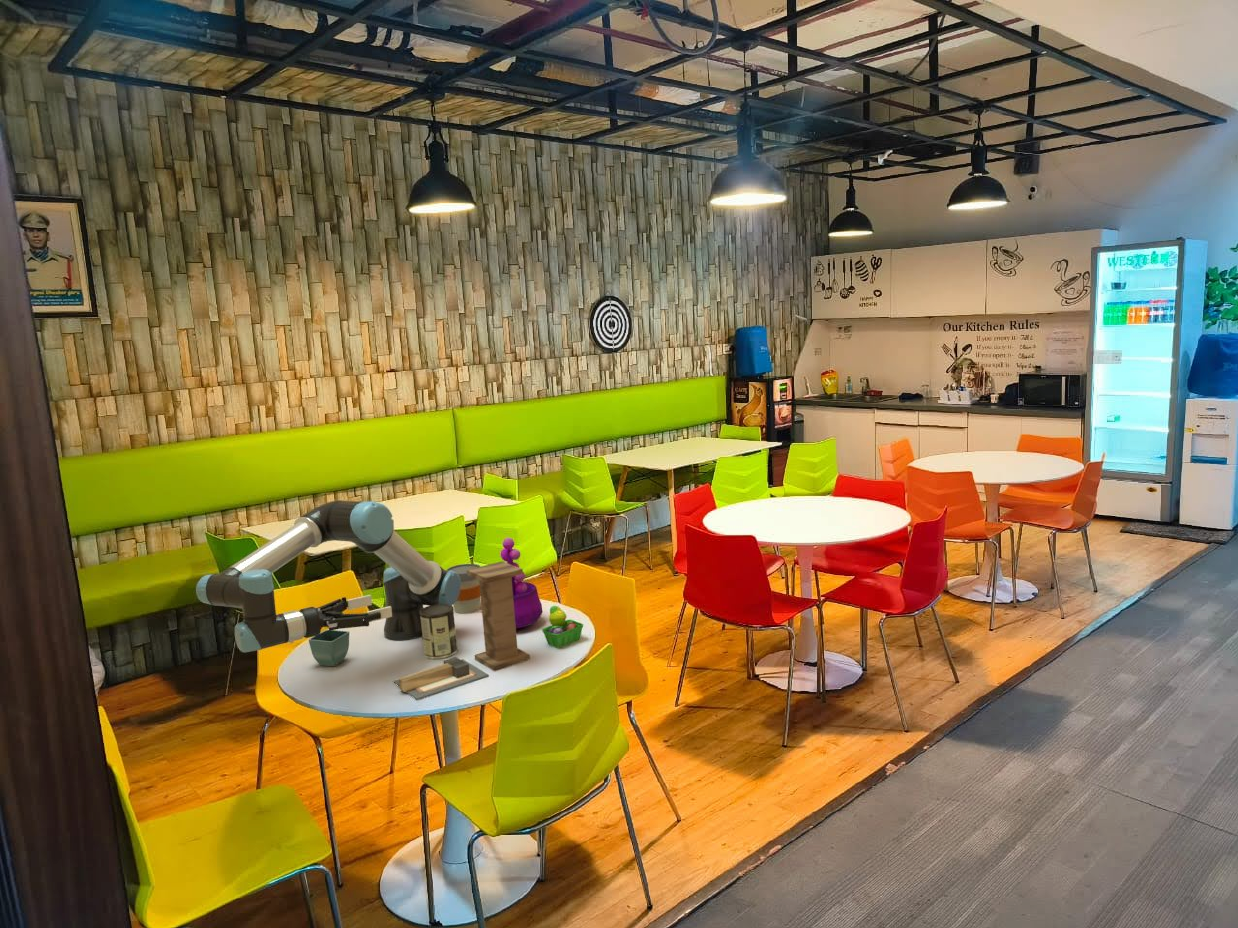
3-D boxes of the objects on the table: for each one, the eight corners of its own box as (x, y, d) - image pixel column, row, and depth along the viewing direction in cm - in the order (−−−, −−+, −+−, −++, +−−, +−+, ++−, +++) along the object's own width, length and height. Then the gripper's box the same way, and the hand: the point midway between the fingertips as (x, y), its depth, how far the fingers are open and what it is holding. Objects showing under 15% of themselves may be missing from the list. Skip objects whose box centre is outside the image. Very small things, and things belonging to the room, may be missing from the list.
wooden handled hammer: (395, 685, 237) (394, 675, 236) (456, 666, 248) (455, 656, 248) (407, 694, 231) (406, 684, 230) (469, 674, 242) (468, 664, 242)
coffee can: (444, 643, 269) (440, 601, 267) (464, 650, 262) (460, 607, 260) (417, 654, 262) (412, 610, 259) (436, 661, 254) (432, 617, 252)
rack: (475, 659, 254) (466, 570, 250) (509, 648, 261) (502, 561, 257) (494, 671, 245) (486, 578, 240) (529, 659, 252) (522, 568, 247)
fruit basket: (556, 650, 258) (554, 615, 256) (539, 643, 264) (536, 609, 262) (585, 639, 265) (583, 605, 263) (568, 633, 272) (565, 599, 270)
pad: (393, 682, 241) (393, 680, 241) (462, 660, 254) (462, 658, 254) (416, 700, 229) (416, 697, 228) (488, 676, 242) (488, 673, 241)
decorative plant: (477, 625, 284) (469, 538, 279) (525, 611, 295) (518, 527, 290) (504, 639, 269) (496, 548, 264) (553, 624, 280) (547, 537, 275)
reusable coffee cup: (466, 617, 292) (462, 576, 290) (441, 611, 300) (438, 571, 297) (492, 606, 302) (489, 566, 299) (467, 601, 309) (464, 561, 307)
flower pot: (353, 658, 261) (350, 630, 260) (335, 670, 253) (331, 641, 252) (329, 656, 264) (326, 629, 263) (311, 667, 256) (307, 639, 254)
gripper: (287, 625, 226) (364, 607, 239) (319, 651, 207) (401, 630, 219) (284, 598, 225) (362, 582, 238) (316, 622, 205) (399, 602, 218)
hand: (381, 605), depth 229 cm, fingers open, 13 cm apart
